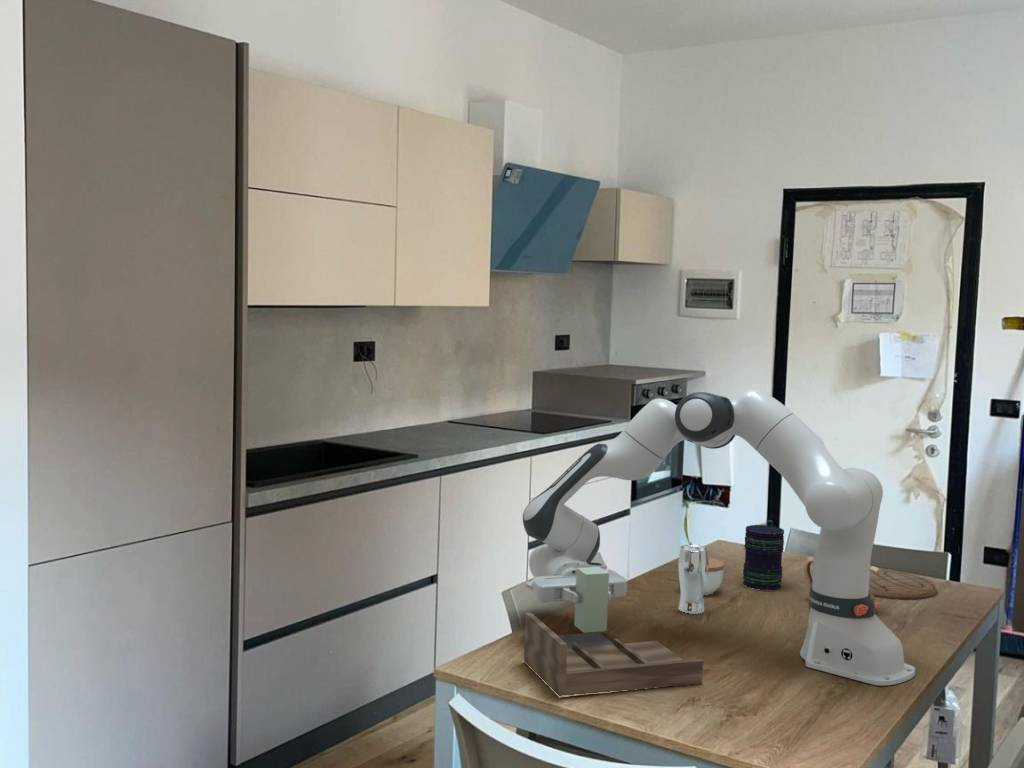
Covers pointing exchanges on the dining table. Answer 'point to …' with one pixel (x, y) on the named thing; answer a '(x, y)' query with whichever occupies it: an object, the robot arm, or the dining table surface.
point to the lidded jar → (714, 576)
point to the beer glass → (692, 577)
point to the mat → (586, 639)
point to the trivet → (900, 585)
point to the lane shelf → (604, 663)
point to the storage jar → (763, 557)
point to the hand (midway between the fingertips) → (593, 598)
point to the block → (592, 599)
